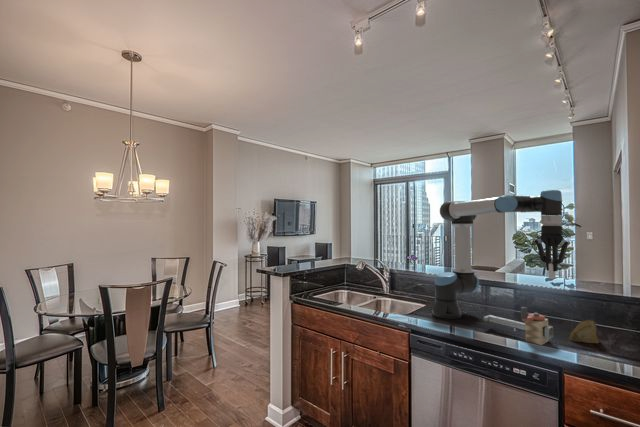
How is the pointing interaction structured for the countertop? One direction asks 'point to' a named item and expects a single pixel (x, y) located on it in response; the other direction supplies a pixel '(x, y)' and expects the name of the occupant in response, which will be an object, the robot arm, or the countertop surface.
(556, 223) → the robot arm
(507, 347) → the countertop surface
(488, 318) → the hook bar
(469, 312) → the countertop surface
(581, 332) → the rock
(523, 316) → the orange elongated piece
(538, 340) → the eye block
